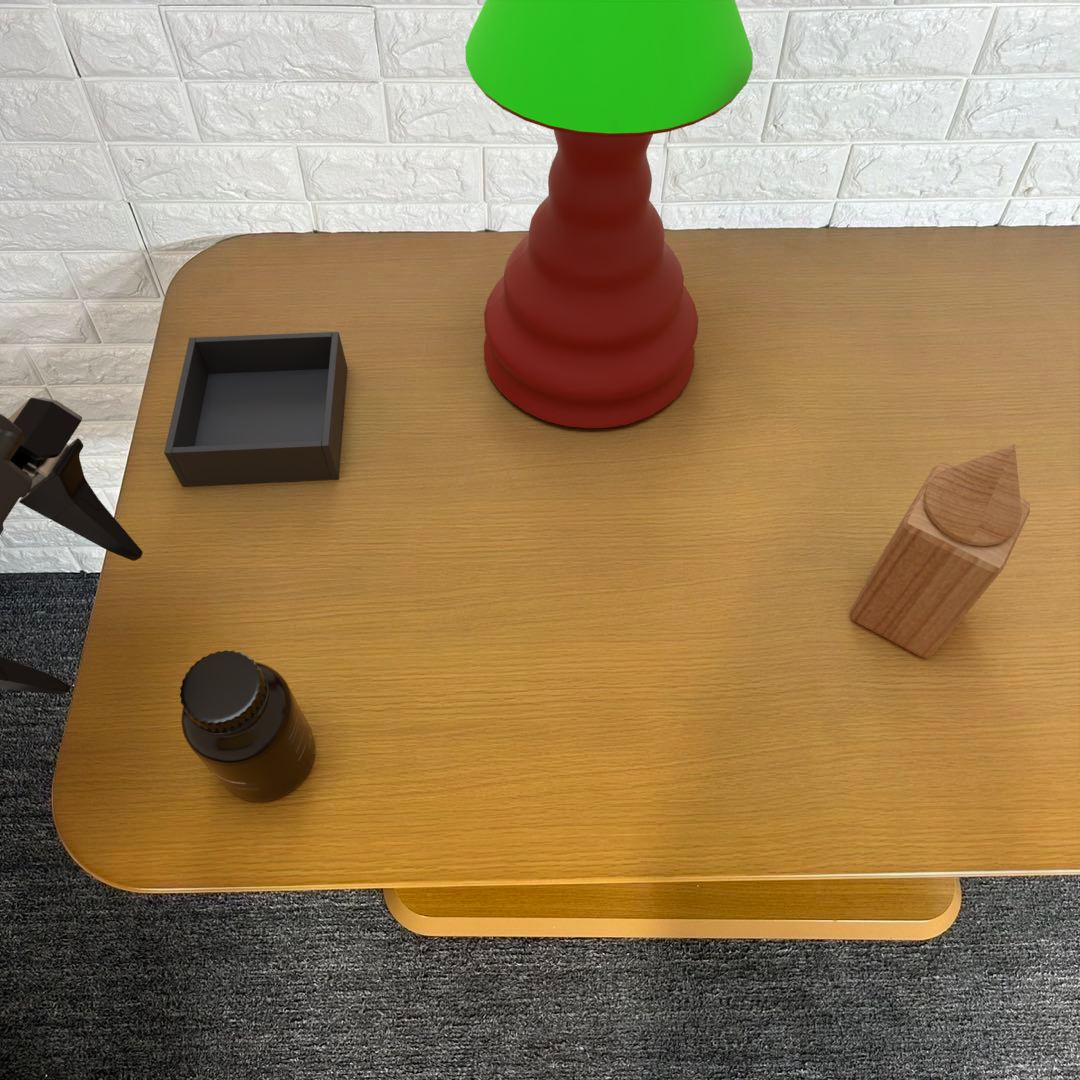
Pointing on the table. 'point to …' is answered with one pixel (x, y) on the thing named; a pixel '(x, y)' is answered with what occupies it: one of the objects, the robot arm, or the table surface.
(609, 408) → the table lamp
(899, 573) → the decorative item
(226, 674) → the supplement bottle
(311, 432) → the bin
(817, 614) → the table surface
